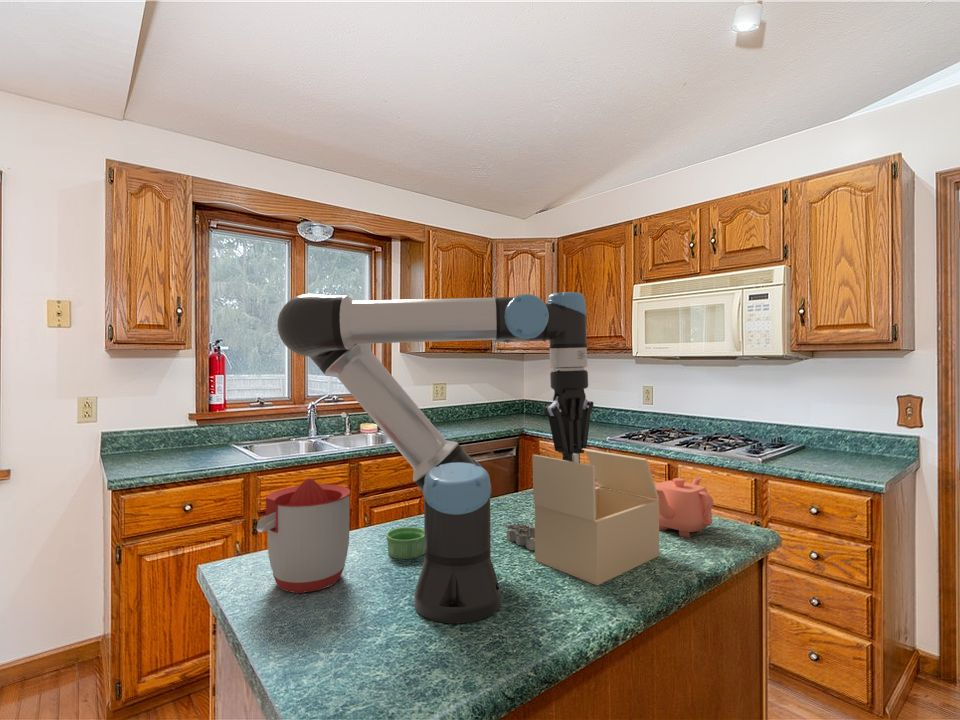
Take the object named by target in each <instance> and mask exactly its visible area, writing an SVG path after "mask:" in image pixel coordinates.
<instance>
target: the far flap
mask: <svg viewBox="0 0 960 720" xmlns="http://www.w3.org/2000/svg"><path fill="white" fill-rule="evenodd" d="M585 453H586V456H587V458H588V462H589V465H593V466H595V482H596V484H597V486H598V487H600V488H605V489H609V490H614V491H618V492H622V493H627V494H631V495H636V496H640V497H645V498H652V499H657V500H658V499H659V496H658V493H657V490H656V487H655V484H654V483H655V481H654V478H653V477H654V476H653V475H652V471H651V468H650V465H649V462H648V459H647V458H646V457H645V458H644V457H639V456H638V457H637V456H631V455H625V454H620V453H619V454H618V453H612V452H608V451H601V450H594V449H589V448H586V449H585Z"/></svg>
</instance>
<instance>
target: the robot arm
mask: <svg viewBox="0 0 960 720" xmlns="http://www.w3.org/2000/svg"><path fill="white" fill-rule="evenodd" d="M586 306H587V305H586V298H585V296H584V294H582V293H581V292H576V291H575V292H574V291H564V292H555V293H551V294H550V295H548V297H547V302H546V303H545V301H543V300H542V298H540V297H538V296H537V295H534V294H529V293H526V294H525V293H524V294H518V295H516V296H507V297H505V296H503V297H463V298H462V297H461V298H460V297H459V298H457V297H456V298H422V299H421V298H420V299H418V298H416V299H382V300H381V299H379V300H354V299H352V298H351V297H350V295H347V294H346V295H331V294H330V295H327V294H317V293H304V294H301V295H297V296H295V297H293V298H291V299H290V300H288V301H287V302H286V303H285V305H283V307H282V308H281V311H280V312H279V314H278V318H277V331H278V332H277V333H278V335H279V338H280V340H281V341H282V343H283V344H284V346H285V347H286V348H287V349H288V350H290V351H292V352H293V353H294V354H297V355H300V356H303V357H309V358H310V360H312V361H313V363H314V364H315V365H316V366H317V367H318V368H319V370H320V371H321V372H322V373H323V374H324V376H326V377H332V378H337V379H338V380H339V381H340V383H341V384H342V385H343V386H344V388H345V389H346V390H347V391H348V392H349V393H350V394H351V396H352V397H353V398H354V399H355V400H356V402H357V403H358V404H359V405H360V406H361V408H362V409H363V410H364V411H365V412H366V414H367V415H368V416H369V417H370V418H371V420H373V422H374V423H375V424H376V426H377V427H378V428H379V429H380V431H382V433H383V434H384V435H385V436H386V438H387V439H388V440H389V441H390V442H391V443H392V444H393V446H394V447H395V448H396V450H397V451H398V452H399V453H400V454H401V455H402V457H403V458H404V459H405V460H406V461H407V462H408V464H409V465H410V466H411V467H412V468H413V474H412V475H413V476H412V480H413V482H414V483H415V485H417V487H418V488H419V489H420V490H421V492H422V494H423V498H424V501H423V502H424V506H423V507H424V508H423V510H424V511H423V512H424V514H423V516H424V517H423V518H424V519H423V520H424V524H423V525H424V528H423V529H424V547H425V552H424V559H423V563H422V567H421V570H420V574H419V577H418V581H417V585H416V587H415V589H414V607H415V610H416V611H417V613H418V614H420V616H423V617H424V618H426V619H429V620H431V621H435V622H439V623H442V624H443V623H444V624H468V623H472V622H477V621H480V620H483V619H487V618H488V617H491V616H492V615H493V614H495V613H496V612H497V611H498V610H499V609H500V607H501V602H502V600H501V599H502V593H501V587H500V583H499V581H498V577H497V573H496V570H495V568H494V565H493V562H492V558H491V557H492V556H491V495H492V483H491V479H490V474H489V473H488V471H487V470H486V469H485V468H484V467H482V465H481V464H480V463H479V462H478V461H477V460H475V458H472V457H470V455H469V454H468V453H467V452H466V451H465V450H464V448H462V446H461V445H460V444H459V443H458V441H451V440H446V438H445V437H444V436H443V435H442V434H441V433H440V431H439V430H438V429H437V428H436V427H435V425H434V424H433V423H432V422H431V420H430V419H429V418H428V417H427V416H426V414H424V412H423V411H422V410H421V409H420V407H419V406H418V405H417V404H416V403H415V401H414V399H412V398H411V396H409V394H408V393H407V392H406V391H405V390H404V388H403V387H402V385H400V383H399V382H398V381H397V380H396V379H395V377H394V376H393V375H392V374H391V373H390V372H389V370H388V369H387V368H386V367H385V365H384V364H383V363H382V362H381V360H379V358H378V357H377V356H376V355H375V353H373V351H372V344H393V343H394V344H395V343H396V344H397V343H430V342H457V341H458V342H461V341H462V342H463V341H466V342H467V341H489V340H490V341H493V342H495V343H507V344H509V343H515V342H516V343H517V342H518V343H519V342H521V343H524V342H538V341H539V342H540V341H542V342H545V341H548V343H549V367H550V368H551V369H552V370H551V372H550V388H551V389H552V390H554V393H553V397H552V403H551V404H550V405H546V406H545V407H544V411H545V413H546V415H547V417H548V421H549V427H550V431H551V436H552V437H551V438H552V442H553V447H554V451H555V452H558V453H559V454H562V460H566V461H572V462H577V463H581V458H580V457H581V455H580V454H584V453H585V449H587V448H588V447H587V446H588V438H589V430H590V422H591V421H590V420H591V416H592V415H591V414H592V410H593V408H594V402H593V401H589V400H588V399H587V396H586V393H585V389H588V387H589V371H587V370H586V369H585V368H587V367H588V350H587V348H588V345H587V341H588V340H587V339H588V337H587V317H588V314H587V308H586Z"/></svg>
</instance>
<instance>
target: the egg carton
mask: <svg viewBox="0 0 960 720" xmlns="http://www.w3.org/2000/svg"><path fill="white" fill-rule="evenodd" d="M503 526H504V527H505V528H506V530H507V531H506V541H508V542H516V543H515V544H516V545H517V546H519V545H520V546H526V548H527V550H528V549H529V550H534V549H535V525H534V526H533V525H532V526H531V525H527V524H526V523H524V522H522V523H521V524H520V523H519V522H517V523H513V524H511V523H509V525H508V524H507V525H506V524H504V525H503ZM530 537H531V538H530Z"/></svg>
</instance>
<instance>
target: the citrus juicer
mask: <svg viewBox="0 0 960 720" xmlns="http://www.w3.org/2000/svg"><path fill="white" fill-rule="evenodd" d="M350 495H351V490H350V488H348V487H346V486H343V485H338V484H328V483H327V484H324V483H323V484H319V483H318V482H317V481H315V480H314V479H313V478H311V477H308V478H306V479H305V480H304V481H303V482H301V484H300V485H298V486H296V485H295V486H290V487H286V488H285V487H284V488H281V489H278V490H275V491H273V492H271V493H268V494H267V496H266V497H265V516H263V517H262V518H260V519H259V520H258V521H257V524H256V531H257V532H258V533H260V534H262V533H265V532H267V554H268V555H267V556H268V560H269V564H270V568H271V571H272V575H273V578H274V580H275V583H276V585H277V587H278V588H279V589H281V590H283V591H286V592H289V593H294V594H303V593H307V592H314V591H319V590H323V589H326V588H328V587H330V586H332V585H334V584H335V583H337V582H338V581H339V580H340V579H341V578H342V577H341V576H342V574H343V571H344V569H345V565H346V564H345V563H346V560H347V557H348V552H349V551H348V550H349V545H350V544H349V543H350Z"/></svg>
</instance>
